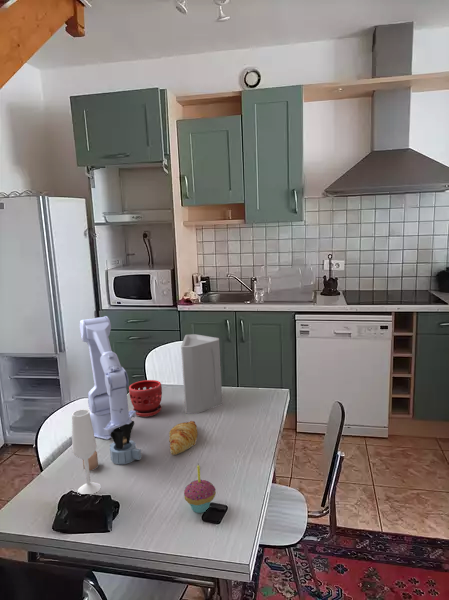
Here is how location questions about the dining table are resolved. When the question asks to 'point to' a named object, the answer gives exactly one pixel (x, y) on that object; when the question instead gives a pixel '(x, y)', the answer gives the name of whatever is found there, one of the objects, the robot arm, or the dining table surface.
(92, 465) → the tan rounded cylinder
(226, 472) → the dining table surface
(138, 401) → the plant pot
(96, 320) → the robot arm
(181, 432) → the croissant
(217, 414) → the dining table surface
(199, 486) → the cupcake
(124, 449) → the plunger
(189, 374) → the grey tall triangular prism
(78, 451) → the champagne flute
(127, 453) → the press pot
